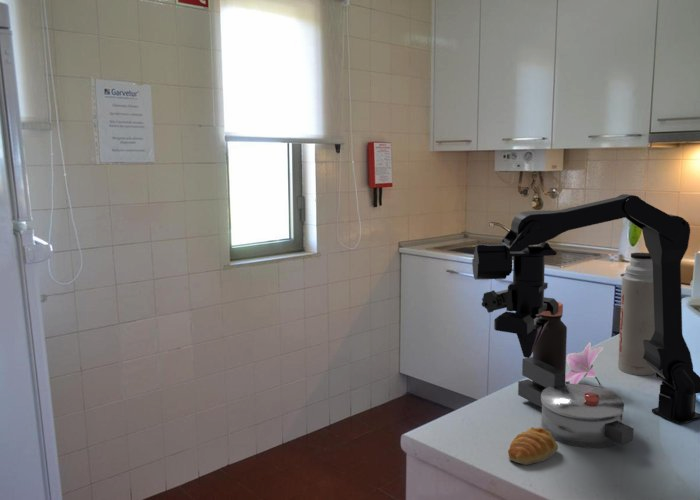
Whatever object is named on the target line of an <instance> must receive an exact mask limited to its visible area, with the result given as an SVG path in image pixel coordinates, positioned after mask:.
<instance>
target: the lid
mask: <svg viewBox="0 0 700 500" xmlns="http://www.w3.org/2000/svg"><path fill="white" fill-rule="evenodd" d="M521 365H522V369H521V370H522V372H521V375H522V376H523V377H525V378H527V379H529V380H531V381H534V382H536V383H538V384H540V385H542V386H544V387H545V388H546V389H544V390H543V391H542V393H541V402H542V404H543V405H544V406H545V407H546V408H547V409H549V410H550V411H552V412H554V413H557V414H559V415H562V416H565V417H569V418H574V419H579V420H590V421H599V420H608V419H613V418H616V417H618V416H620V415H621V414H622V415H623V413H624V411H625V403H624V400H623V398H622V397H620V396H619V395H618V394H616V393H615V392H612V391H610V390H607V389H605V388H603V387H598V386H594V385H590V384H583V383H582V384H581V383H580V384H579V383H578V384H570V383H566V381H565V376H566V374H565V372H563V371H561V370H559V369H557V368H555V367H553V366H551V365H549V364H546V363H544V362H542V361H540V360H538V359H536V358H534V357H533V356H530V357H529V358H526V357H524V358H522V364H521Z"/></svg>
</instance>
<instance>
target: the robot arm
mask: <svg viewBox="0 0 700 500" xmlns="http://www.w3.org/2000/svg"><path fill="white" fill-rule="evenodd" d="M624 218H625V219H626V220H627V221H629V222H630V223H631V224H632V225H634V226H635V227H637V228H639V229H640V230H641V231H642V236H643V241H644V244H645V247H646V250H647V253H649V254H650V257H651V259H652V262H653V292H654V324H655V331H654V334H653V336H652V338H651V340H644V341H643V344H644V349H645V352H644V356H643V359H644V360H646V361H647V364H648V366H649V367H650V368H651V369H652V370H653V371H654V372H655V373H654V375H655V378H656V379H659V380H661V381H662V382H661V384H659V393H658V404H657V407H654V408H651V413H654V414H656V415H658V416H660V417H663V418H665V419H668V420H669V421H672V422H674V423H677V424H680V425H681V424H685V423H689V422H693V421H695V420H696V421H697V420H698V419H700V413H699V412H696V400H697V394H700V376H699V374H698V373H696V371H695V370H694V365H693V359H692V353H691V351H690V349H689V347H688V345H687V342H686V340H685V338H684V335H683V308H682V307H683V306H682V303H683V302H682V300H683V299H682V268H681V267H682V265H681V264H682V260H683V259H684V256H685V254H686V252H687V251H688V248H689V244H690V243H689V242H690V236H691V225H690V223H689V221H687V220H686V219H685V218H684V217H682V216H679V215H674V214H669V213H667V212H665V211H663V210H661V209H659V208H657V207H655V206H653V205H651V204H650V203H647V202H646V201H645V200H643V199H642V198H641V197H639V196H638V195H635V194H627V193H625V194H620V195H618V196H615V197H611V198H606V199H603V200H598V201H594V202H593V201H592V202H588V203H584V204H580V205H576V206H572V207H567V208H564V209H559V210H556V209H555V210H527V211H522V212H519V213H517V214H515V216H514V217H513V219H512V221H511V225H510V226H511V227H510V229H509V231H508V232H507V233H506V234H505V236H504V237H503V238H502V239H501V241H500V243H495V244H493V243H492V244H488V243H487V244H485V243H475V248H474V249H475V250H474V252H473V258H472V260H471V261H472V262H471V263H472V274H473V278H474V280H505V279H507V277H508V276H509V277H510V275H511V274H512V283H509V285H507V289H503V290H500V291H495V290H491V291H486V292H484V293H483V296H482V298H481V301H482V302H481V306H482V307H484V308H485V309H486V311H487V313H493V312H494V311H497V310H502V309H506V311H505V312H503V313H501V314H500V315H498V316H497V317H496V318H494V321H493V322H494V323H493V324H494V326H493V327H494V328H493V329H494V330H495V331H497V332H502V333H503V332H504V333H511V334H516V336H517V340H518V341H519V347H520V349H521V352H522V356H523V357H524V358H530V357H532V355H533V350H534V348H535V346H536V344H537V342H538V340H539V338H540V336H541V334H542V332H543V331H544V329H545V327H546V325H547V323H548V320H545V319H541V316H539V314H540V313H542V312H543V311H550V313H551V315H555V314H557V313H558V306H559V303H558V302H559V301H557V300H556V299H555V298H553V297H546V296H545V290H547V289H548V287H549V286H548V284H549V283H548V282H545V267H546V266H545V261H546V260H545V259H546V256H556V255H557V253H558V252H557V251H556V250H555V249H553V248H552V247H551V245H550V244H549V243H548V242H549V241H551V240H552V239H553V240H554V238H557V237H558V236H560V235H561V234H563V233H565V232H568V231H572V230H576V229H580V228H585V227H590V226H594V225H598V224H602V223H608V222H611V221H615V220H620V219H624Z"/></svg>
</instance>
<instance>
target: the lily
mask: <svg viewBox="0 0 700 500" xmlns="http://www.w3.org/2000/svg"><path fill="white" fill-rule="evenodd" d="M591 346H592V343H591V341H589V342H588V343H587V345H586V346H584V347H585V348H584V349H583V351H582V353H578V352H571V353H568V354H566V365H567V366H568V368H569V369H570V370H568V372H566V374H565V382H568V381H569V384H579V382H580V381H581V380H582V379H583V377H584V378H594V379H595V380H596V381H597V383H598V385H599V386H601V382H600V380H599V379H598V376H597V374H596V371H595V368H594V366H593V365H594V364H593V363H594V361H595V360H596V358H597V357H598V356H599V355H600V354H601V352H602V351H603V350H604V347H603V346H600V347H595V348H593V349H592V347H591Z"/></svg>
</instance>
